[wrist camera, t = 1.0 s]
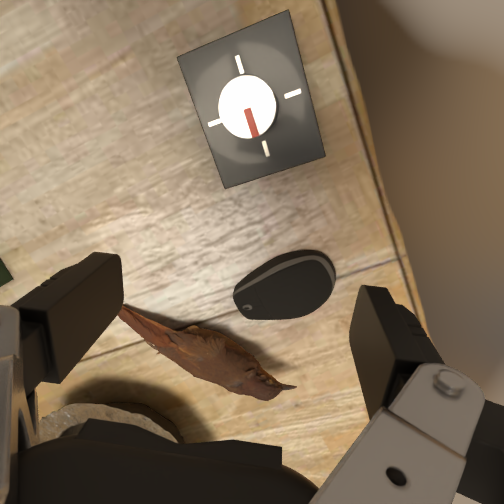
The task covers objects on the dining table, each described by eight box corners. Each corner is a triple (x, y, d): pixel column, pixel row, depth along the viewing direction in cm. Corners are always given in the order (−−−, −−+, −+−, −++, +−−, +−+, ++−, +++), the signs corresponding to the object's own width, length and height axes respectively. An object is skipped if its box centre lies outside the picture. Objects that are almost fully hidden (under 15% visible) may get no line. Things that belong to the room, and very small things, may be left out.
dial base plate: (186, 61, 32) (175, 56, 29) (288, 18, 30) (288, 8, 27) (229, 183, 36) (224, 189, 33) (322, 152, 34) (326, 156, 31)
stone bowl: (160, 511, 59) (134, 576, 50) (41, 427, 56) (-8, 481, 48) (247, 441, 49) (233, 507, 41) (108, 338, 47) (62, 385, 38)
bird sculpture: (129, 280, 44) (104, 298, 40) (308, 358, 41) (303, 387, 37) (122, 319, 47) (98, 340, 43) (289, 394, 44) (283, 426, 40)
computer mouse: (223, 280, 40) (217, 296, 37) (319, 236, 37) (322, 250, 33) (252, 325, 42) (248, 345, 39) (344, 287, 39) (350, 306, 35)
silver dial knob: (221, 91, 30) (208, 87, 25) (269, 72, 29) (265, 64, 24) (238, 141, 31) (229, 146, 26) (284, 125, 30) (283, 127, 25)
